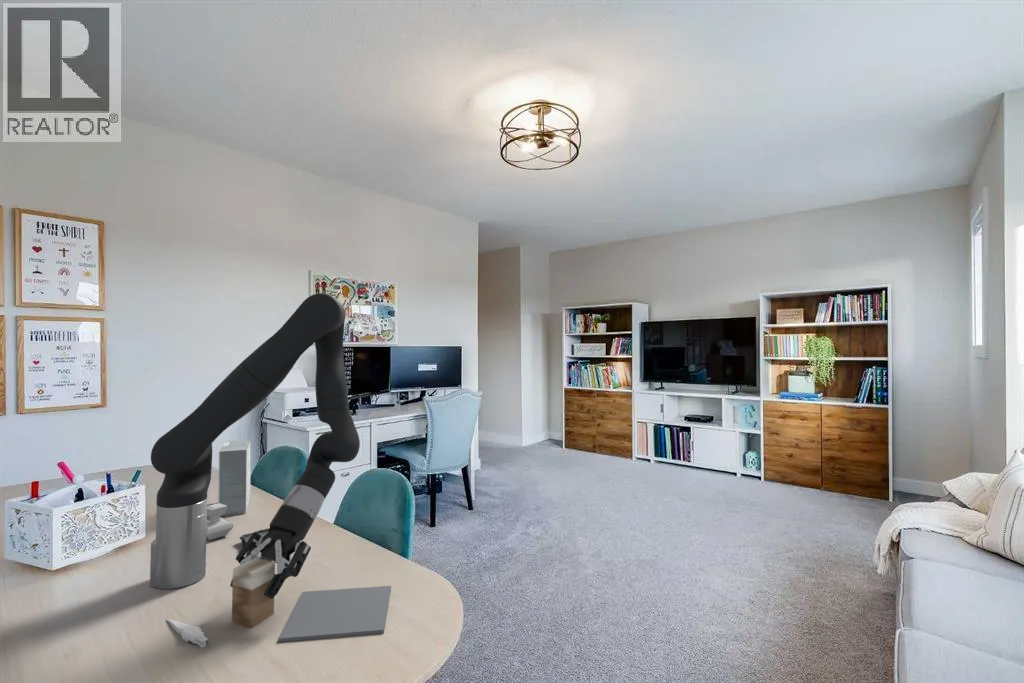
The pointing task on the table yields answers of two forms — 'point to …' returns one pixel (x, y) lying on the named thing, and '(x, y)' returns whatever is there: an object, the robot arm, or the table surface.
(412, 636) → the table surface
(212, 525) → the stamp
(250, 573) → the cream and brown block
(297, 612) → the charcoal mat
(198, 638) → the white tapered spike part
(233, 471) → the hard drive box
